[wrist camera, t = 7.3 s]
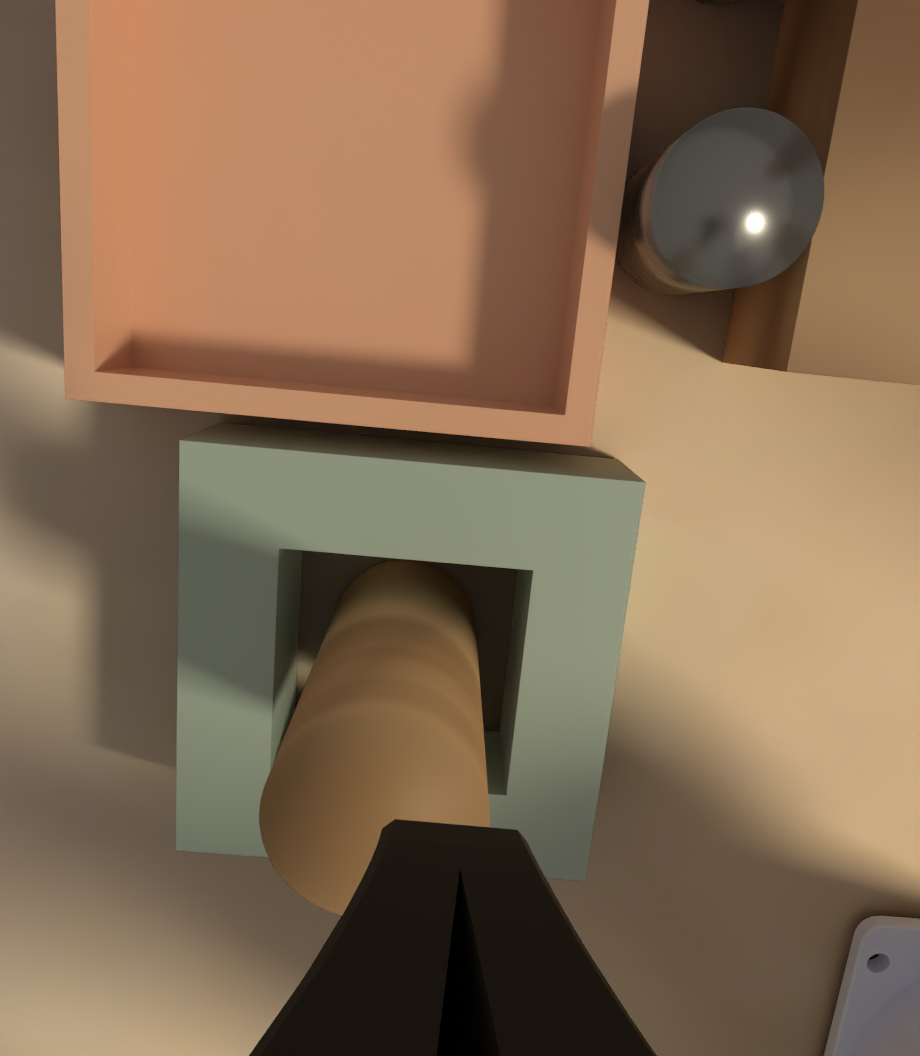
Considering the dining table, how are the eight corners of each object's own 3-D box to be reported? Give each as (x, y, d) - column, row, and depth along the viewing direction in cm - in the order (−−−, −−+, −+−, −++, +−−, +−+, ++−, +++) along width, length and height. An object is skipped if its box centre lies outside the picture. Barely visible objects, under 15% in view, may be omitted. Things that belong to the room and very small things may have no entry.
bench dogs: (730, 301, 16) (805, 295, 12) (602, 289, 16) (643, 279, 12) (806, -153, 14) (919, -303, 11) (661, -169, 14) (728, -327, 11)
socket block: (568, 808, 18) (585, 881, 16) (212, 779, 18) (175, 850, 16) (617, 458, 17) (645, 482, 14) (220, 422, 16) (179, 440, 14)
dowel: (468, 697, 18) (477, 928, 11) (330, 686, 18) (255, 911, 11) (482, 565, 17) (502, 727, 10) (338, 553, 17) (262, 708, 10)
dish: (571, 429, 16) (590, 446, 14) (118, 387, 16) (64, 399, 14) (636, -86, 14) (670, -162, 12) (114, -144, 14) (50, -232, 12)
